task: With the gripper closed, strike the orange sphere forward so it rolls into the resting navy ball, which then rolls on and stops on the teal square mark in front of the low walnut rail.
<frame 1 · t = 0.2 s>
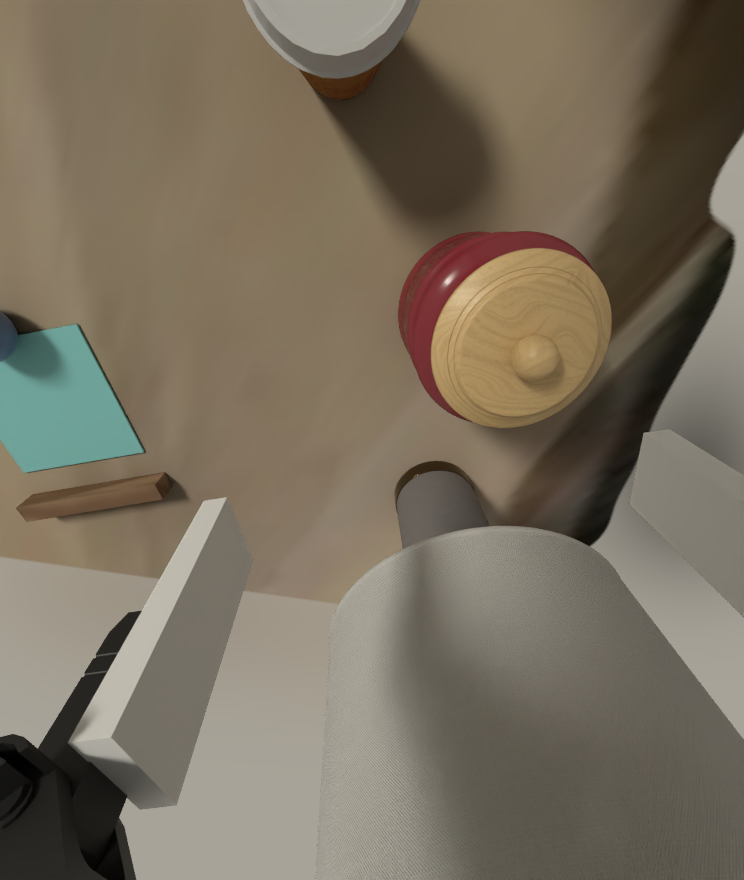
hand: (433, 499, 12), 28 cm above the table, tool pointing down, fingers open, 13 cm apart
disposable coffee cup: (338, 44, 28), on the table
canister: (463, 308, 37), on the table
lamp: (432, 492, 47), on the table
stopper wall: (102, 490, 45), on the table
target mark: (49, 404, 39), on the table
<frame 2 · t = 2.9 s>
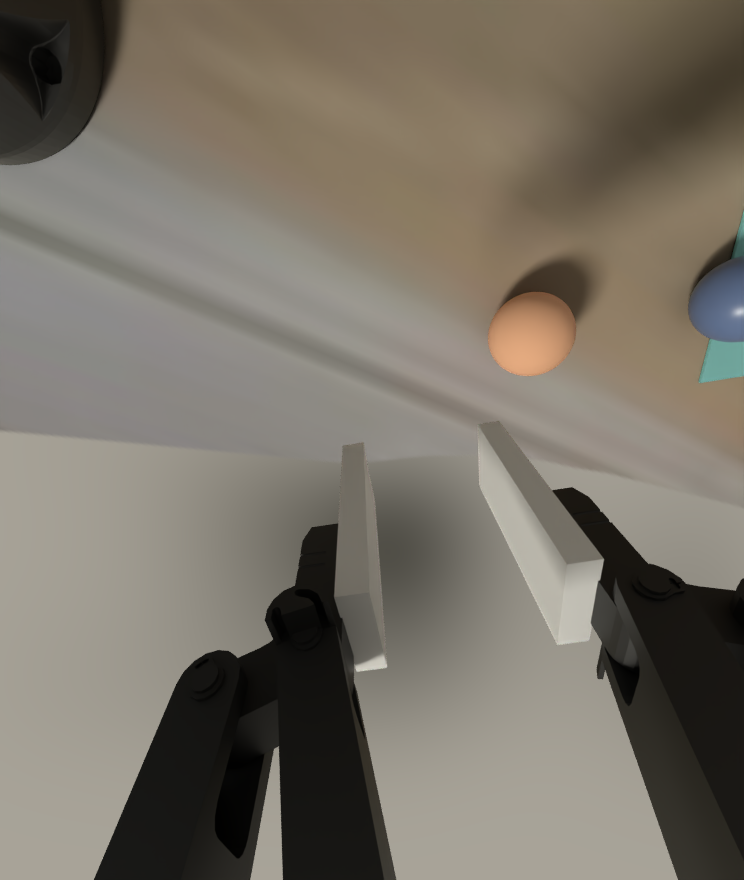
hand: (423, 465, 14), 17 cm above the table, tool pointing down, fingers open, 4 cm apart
orange sphere: (530, 335, 26), on the table
object ball: (741, 299, 26), on the table
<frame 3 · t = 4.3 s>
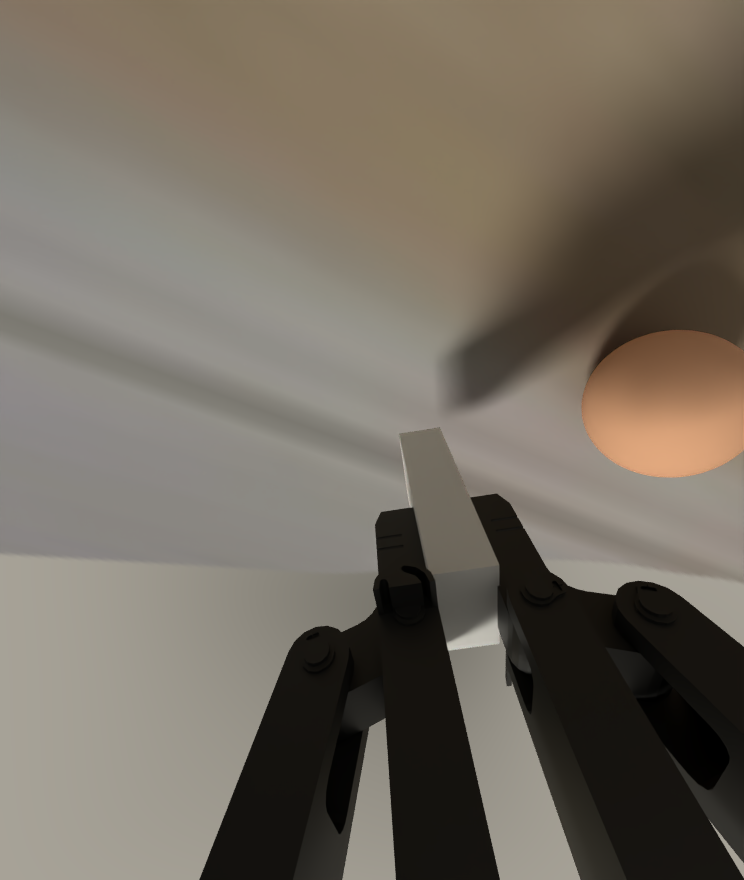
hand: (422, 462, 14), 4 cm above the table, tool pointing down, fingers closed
orange sphere: (663, 404, 15), on the table
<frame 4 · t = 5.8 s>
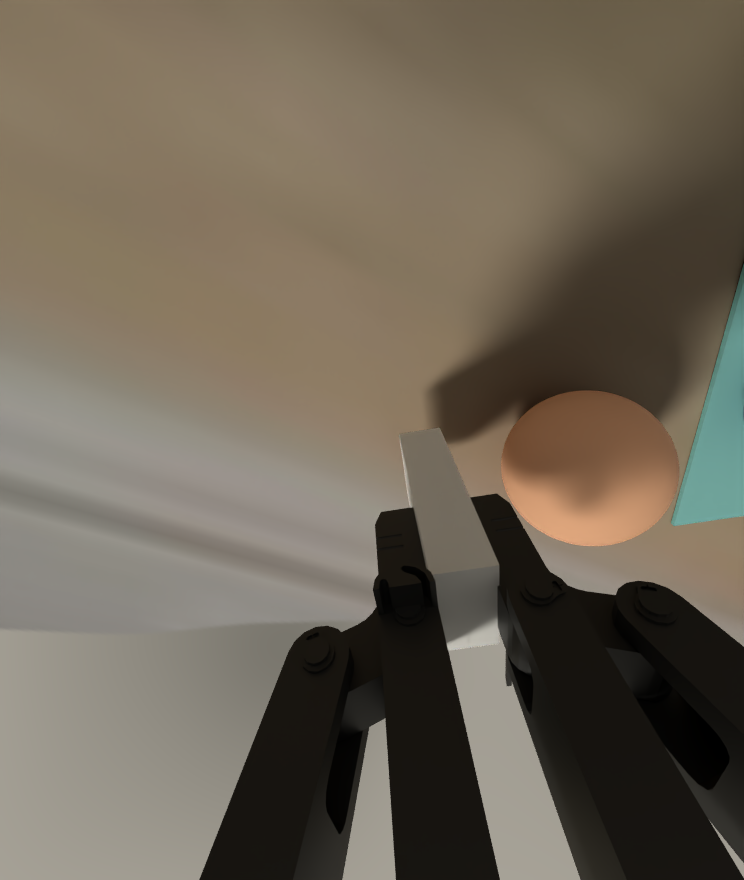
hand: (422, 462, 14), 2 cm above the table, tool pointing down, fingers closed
orange sphere: (581, 467, 14), on the table
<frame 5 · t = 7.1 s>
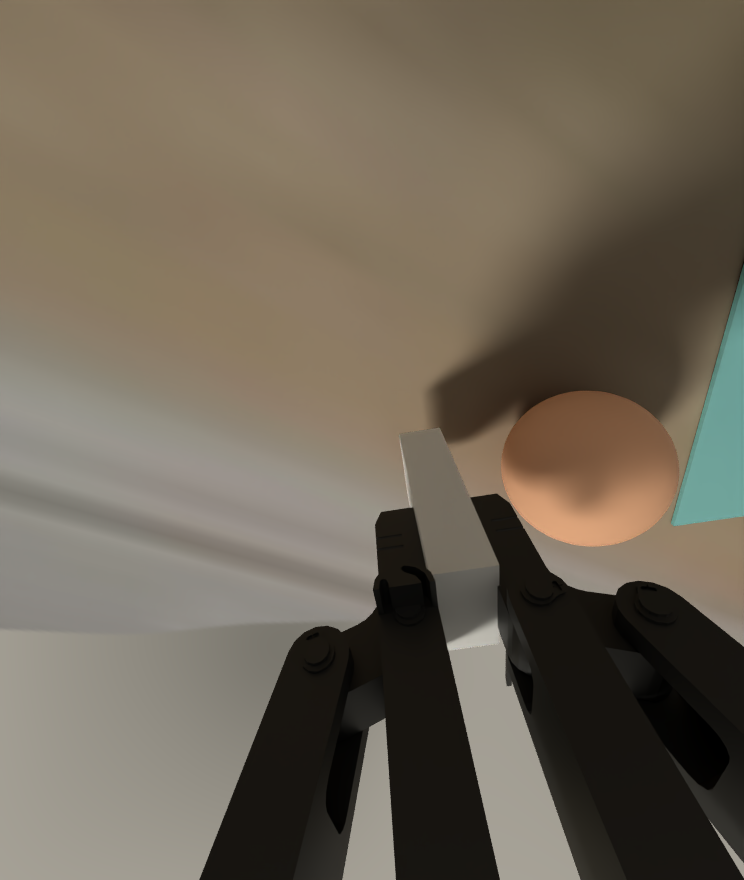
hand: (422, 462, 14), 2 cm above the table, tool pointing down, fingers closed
orange sphere: (581, 467, 14), on the table
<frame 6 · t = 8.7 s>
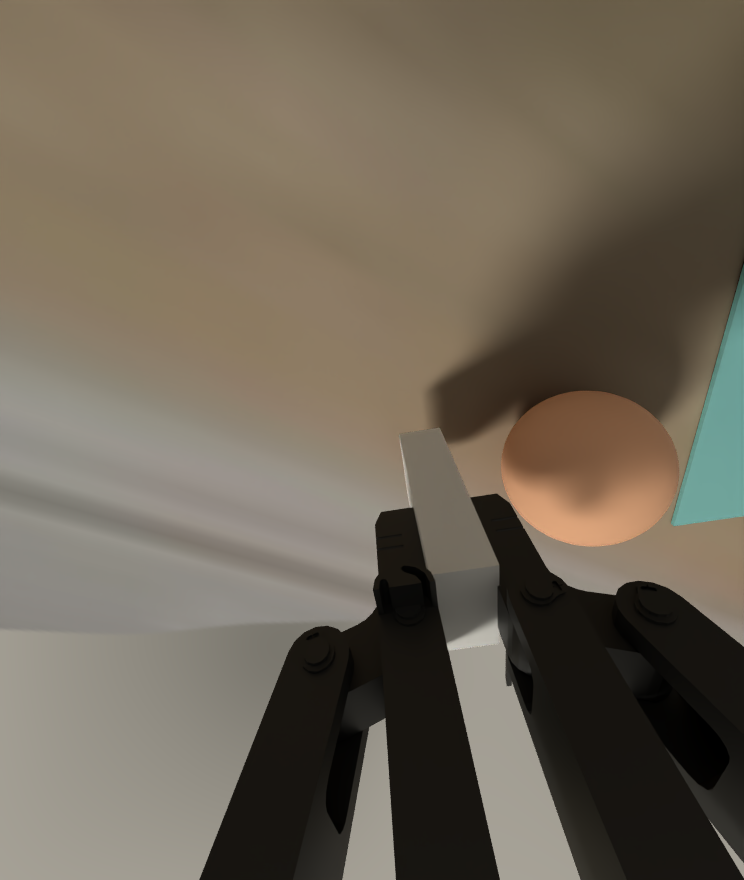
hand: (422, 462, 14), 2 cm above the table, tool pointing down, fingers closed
orange sphere: (581, 467, 14), on the table
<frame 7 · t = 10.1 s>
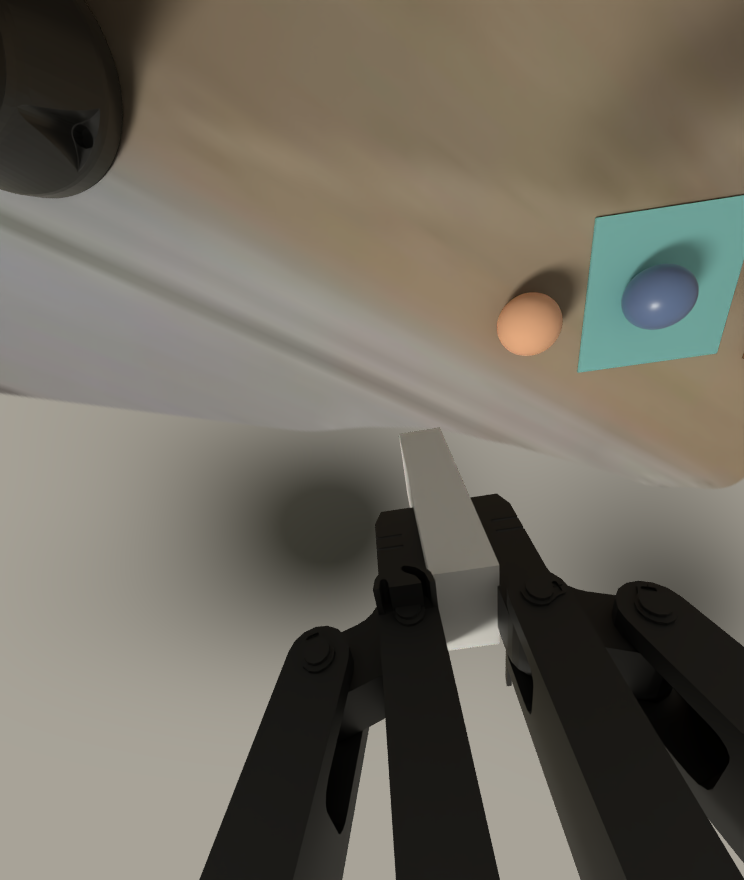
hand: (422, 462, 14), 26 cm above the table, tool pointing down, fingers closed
orange sphere: (528, 324, 35), on the table
object ball: (658, 297, 34), on the table
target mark: (660, 290, 36), on the table
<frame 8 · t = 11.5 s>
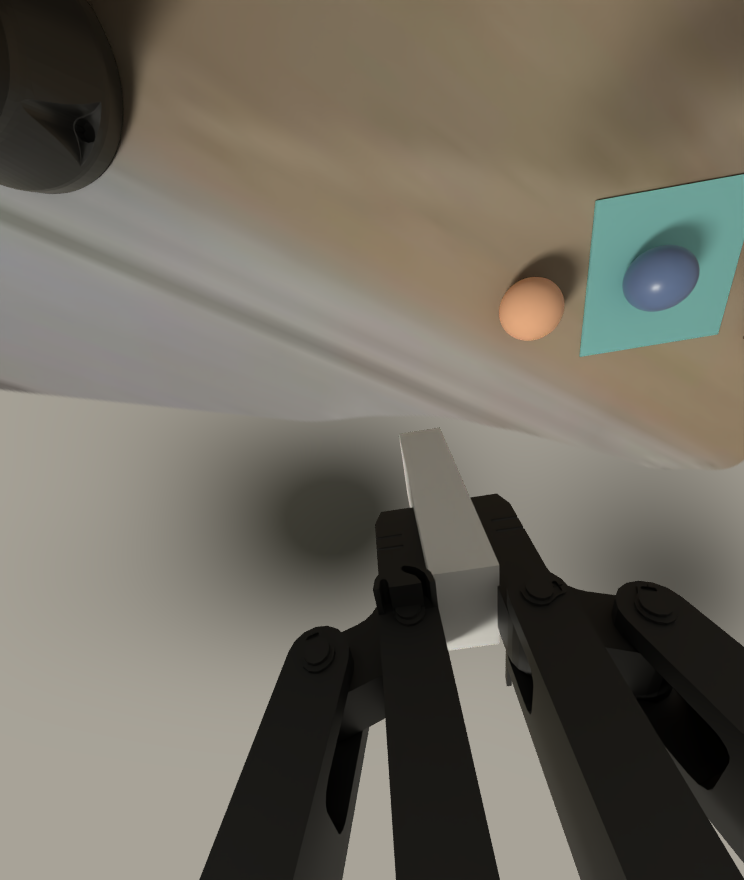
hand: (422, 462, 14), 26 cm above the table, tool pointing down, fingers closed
orange sphere: (530, 309, 35), on the table
object ball: (659, 279, 34), on the table
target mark: (660, 272, 37), on the table
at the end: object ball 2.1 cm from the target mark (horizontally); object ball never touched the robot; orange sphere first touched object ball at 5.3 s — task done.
